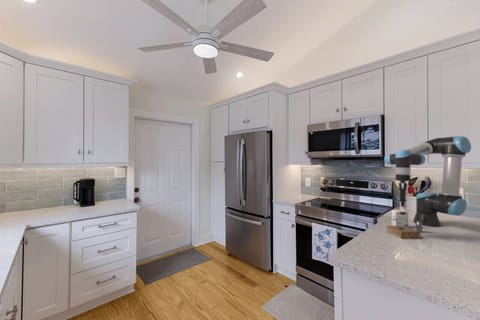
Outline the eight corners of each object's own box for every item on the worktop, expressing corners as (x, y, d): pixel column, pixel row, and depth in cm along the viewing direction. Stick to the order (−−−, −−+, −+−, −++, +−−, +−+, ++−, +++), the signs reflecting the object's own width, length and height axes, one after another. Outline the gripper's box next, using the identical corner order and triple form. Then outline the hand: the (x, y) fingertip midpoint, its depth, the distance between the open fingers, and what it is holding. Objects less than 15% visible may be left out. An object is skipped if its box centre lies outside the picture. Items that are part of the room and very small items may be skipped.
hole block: (404, 231, 138) (404, 225, 138) (420, 238, 126) (420, 232, 126) (386, 231, 138) (386, 225, 138) (401, 238, 126) (401, 232, 126)
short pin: (419, 231, 140) (419, 220, 140) (423, 232, 137) (423, 222, 137) (414, 231, 140) (414, 220, 140) (418, 232, 137) (418, 222, 137)
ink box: (403, 226, 151) (403, 210, 151) (408, 228, 146) (408, 211, 146) (391, 225, 151) (391, 209, 151) (395, 228, 146) (395, 211, 147)
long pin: (403, 213, 134) (403, 191, 134) (406, 214, 131) (407, 192, 131) (398, 213, 134) (398, 191, 134) (402, 214, 131) (402, 192, 131)
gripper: (396, 173, 141) (396, 208, 141) (394, 174, 129) (394, 212, 128) (410, 174, 136) (410, 209, 136) (410, 175, 124) (410, 214, 124)
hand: (402, 211), depth 132 cm, fingers closed on long pin, 3 cm apart
